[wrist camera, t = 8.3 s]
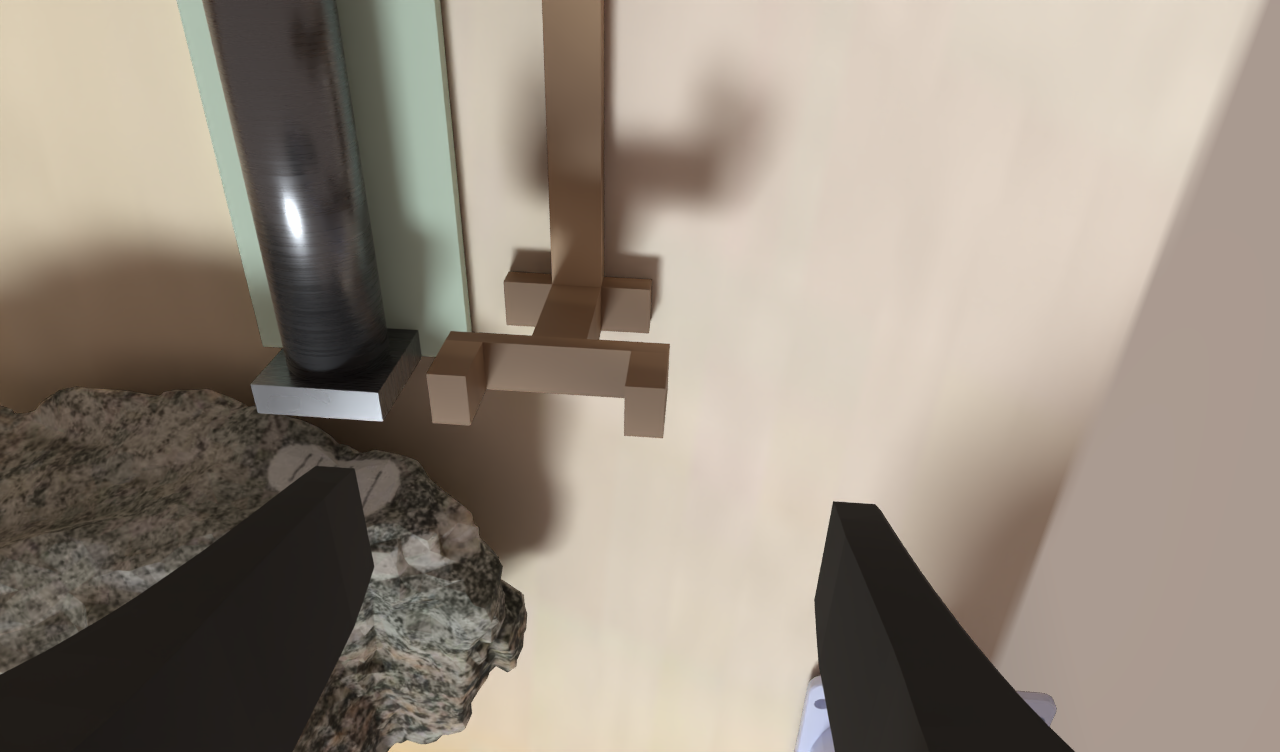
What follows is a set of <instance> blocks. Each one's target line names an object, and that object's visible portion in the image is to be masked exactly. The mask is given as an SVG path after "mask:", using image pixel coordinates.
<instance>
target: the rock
mask: <svg viewBox="0 0 1280 752" xmlns="http://www.w3.org/2000/svg"><path fill="white" fill-rule="evenodd" d="M315 466H327V467H341V468H355V472H356V477H357V482H358V487H359V492H360V497H361V502H362V507H363V512H364V517H365V522H366V527H367V532H368V537H369V542H370V547H371V552H372V557H373V562H374V570H373V573H372V576H371V579H370V582H369V586H368V589H367V592H366V595H365V598H364V601H363V604H362V606H361V609H360V612H359V615H358V618H357V620H356V623H355V626H354V629H353V631H352V633H351V635H350V637H349V639H348V641H347V643H346V645H345V647H344V649H343V651H342V654H341V656H340V658H339V660H338V662H337V664H336V666H335V668H334V670H333V672H332V674H331V676H330V678H329V680H328V682H327V684H326V686H325V688H324V690H323V692H322V694H321V696H320V698H319V700H318V702H317V704H316V706H315V708H314V710H313V712H312V714H311V716H310V718H309V720H308V722H307V724H306V726H305V728H304V730H303V732H302V734H301V736H300V738H299V740H298V742H297V744H296V746H295V748H294V750H293V752H388V750H389V749H390V748H391V747H392V746H393V745H394V744H395V743H402V742H404V741H406V740H409V741H413V742H416V743H419V744H429V743H432V742H435V741H437V740H438V739H439V738H440V737H441V736H442V735H449V734H453V733H457V732H461V731H462V730H464V729H465V728H466V726H467V723H468V721H469V719H470V716H471V714H472V709H471V702H472V701H473V699H474V697H475V696H476V694H477V692H478V691H479V689H480V688H481V686H482V685H483V684H484V682H485V681H486V679H487V678H488V675H489V672H490V671H491V670H492V669H493V668H494V667H495V666H497V667H499V668H501V669H502V670H504V671H506V672H509V671H510V670H512V669H513V668H515V667H516V664H517V659H518V656H519V654H520V652H521V650H522V648H523V638H524V632H525V630H526V623H527V612H526V609H525V603H524V595H523V594H522V593H521V592H520V591H518V590H517V589H515V588H514V587H512V586H511V585H509V584H508V583H506V582H505V581H503V580H502V579H501V574H502V567H503V566H502V565H501V563H500V561H499V557H498V556H497V555H496V554H495V553H494V551H493V550H492V549H491V548H490V547H489V546H488V545H487V544H486V543H485V542H484V541H483V540H482V539H481V538H480V537H479V527H477V526H476V525H475V524H474V523H473V517H472V513H471V512H470V511H469V510H467V509H466V508H465V507H464V506H463V505H462V504H461V503H459V502H458V501H457V500H455V499H454V498H453V497H451V496H450V495H449V494H447V493H446V492H445V491H443V490H442V489H441V488H440V487H439V486H437V485H436V484H435V483H434V482H433V481H432V480H430V479H429V477H428V475H427V474H426V472H425V470H424V469H423V467H422V465H421V464H420V463H419V462H418V461H417V460H414V459H412V458H409V457H406V456H403V455H399V454H394V453H389V452H384V451H379V450H372V451H368V452H365V453H361V452H358V451H356V450H355V449H353V448H351V447H350V446H348V445H343V444H338V443H337V442H336V441H335V440H334V439H333V438H332V437H331V436H330V435H329V434H327V433H326V432H324V431H323V430H321V429H320V428H318V427H316V426H314V425H312V424H310V423H307V422H305V421H303V420H300V419H296V418H292V417H287V416H284V415H279V414H264V413H258V412H257V408H256V406H252V407H248V406H246V405H245V404H243V403H241V402H239V401H237V400H235V399H233V398H231V397H228V396H225V395H223V394H220V393H218V392H215V391H212V390H210V389H198V390H172V391H167V392H164V393H162V394H161V395H159V396H157V395H149V394H143V393H137V392H131V391H123V390H111V389H99V388H92V389H89V388H83V387H72V388H68V389H63V390H59V391H58V392H56V393H55V394H53V395H52V396H50V397H49V398H47V399H46V400H44V401H43V402H41V403H40V405H39V406H38V407H37V409H36V410H35V411H32V412H28V413H20V414H15V413H14V411H13V410H12V409H9V408H6V407H3V406H0V674H2V673H4V672H6V671H8V670H10V669H12V668H14V667H16V666H18V665H20V664H22V663H23V662H25V661H27V660H29V659H31V658H33V657H35V656H37V655H39V654H41V653H43V652H45V651H46V650H48V649H50V648H52V647H54V646H55V645H57V644H59V643H61V642H62V641H64V640H66V639H68V638H69V637H71V636H73V635H74V634H76V633H78V632H80V631H81V630H83V629H85V628H86V627H88V626H90V625H91V624H93V623H95V622H97V621H98V620H100V619H102V618H103V617H105V616H106V615H108V614H110V613H111V612H113V611H115V610H116V609H118V608H119V607H121V606H123V605H124V604H126V603H127V602H129V601H130V600H132V599H133V598H135V597H137V596H138V595H139V594H141V593H142V592H144V591H145V590H147V589H148V588H150V587H151V586H153V585H154V584H155V583H157V582H158V581H160V580H161V579H163V578H164V577H166V576H167V575H169V574H170V573H171V572H173V571H174V570H176V569H177V568H179V567H180V566H182V565H183V564H184V563H186V562H187V561H189V560H190V559H192V558H193V557H195V556H196V555H198V554H199V553H200V552H202V551H203V550H204V549H206V548H207V547H209V546H210V545H211V544H213V543H214V542H215V541H217V540H218V539H219V538H221V537H222V536H223V535H225V534H226V533H227V532H229V531H230V530H231V529H233V528H234V527H235V526H237V525H238V524H239V523H241V522H242V521H243V520H245V519H246V518H247V517H249V516H250V515H251V514H252V513H254V512H255V511H256V510H258V509H259V508H260V507H262V506H263V505H264V504H265V503H267V502H268V501H269V500H271V499H272V498H273V497H275V496H276V495H277V494H278V493H280V492H281V491H282V490H284V489H285V488H286V487H288V486H289V485H290V484H292V483H293V482H294V481H296V480H297V479H298V478H300V477H301V476H302V475H304V474H305V473H306V472H308V471H309V470H311V469H312V468H313V467H315Z"/></svg>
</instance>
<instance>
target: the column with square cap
mask: <svg viewBox="0 0 1280 752" xmlns="http://www.w3.org/2000/svg"><path fill="white" fill-rule="evenodd" d="M202 3H203V7H204V11H205V16H206V20H207V24H208V29H209V33H210V37H211V41H212V46H213V50H214V54H215V59H216V63H217V67H218V71H219V76H220V80H221V84H222V89H223V93H224V97H225V101H226V106H227V110H228V114H229V119H230V123H231V127H232V131H233V136H234V140H235V144H236V149H237V153H238V157H239V162H240V166H241V170H242V174H243V179H244V183H245V187H246V192H247V196H248V200H249V204H250V209H251V213H252V217H253V222H254V226H255V230H256V234H257V239H258V243H259V247H260V252H261V256H262V260H263V264H264V269H265V273H266V277H267V282H268V286H269V290H270V294H271V299H272V303H273V307H274V312H275V316H276V320H277V325H278V329H279V333H280V337H281V342H282V346H283V349H282V350H281V351H280V352H279V353H278V354H277V355H276V356H275V358H274V359H273V360H272V361H271V362H270V363H269V364H268V365H267V366H266V368H265V369H264V370H263V371H262V372H261V373H260V374H259V375H258V376H257V378H256V379H255V380H254V381H253V382H252V383H251V384H250V385H251V389H252V393H253V396H254V400H255V404H256V408H257V412H258V413H264V414H279V415H293V416H308V417H323V418H338V419H353V420H367V421H382V422H383V421H384V419H385V417H386V416H387V414H388V412H389V411H390V409H391V407H392V406H393V404H394V402H395V401H396V399H397V397H398V396H399V394H400V392H401V391H402V389H403V387H404V386H405V384H406V382H407V381H408V379H409V377H410V376H411V374H412V372H413V371H414V369H415V367H416V366H417V364H418V362H419V361H420V359H421V357H422V354H421V347H420V339H419V332H418V330H409V329H392V328H387V326H386V320H385V314H384V307H383V301H382V294H381V288H380V281H379V275H378V268H377V262H376V255H375V249H374V242H373V236H372V229H371V223H370V216H369V210H368V203H367V197H366V191H365V184H364V178H363V171H362V165H361V158H360V152H359V145H358V139H357V132H356V126H355V119H354V113H353V106H352V100H351V93H350V87H349V81H348V74H347V68H346V61H345V55H344V48H343V42H342V35H341V29H340V22H339V16H338V9H337V3H336V0H202Z"/></svg>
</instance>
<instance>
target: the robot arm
mask: <svg viewBox="0 0 1280 752" xmlns="http://www.w3.org/2000/svg"><path fill="white" fill-rule="evenodd" d="M373 570H374V562H373V557H372V552H371V547H370V542H369V537H368V532H367V527H366V522H365V517H364V512H363V507H362V502H361V497H360V492H359V487H358V482H357V477H356V472H355V468H341V467H327V466H315V467H313V468H312V469H311V470H309V471H308V472H306V473H305V474H304V475H302V476H301V477H300V478H298V479H297V480H296V481H294V482H293V483H292V484H290V485H289V486H288V487H286V488H285V489H284V490H282V491H281V492H280V493H278V494H277V495H276V496H275V497H273V498H272V499H271V500H269V501H268V502H267V503H265V504H264V505H263V506H262V507H260V508H259V509H258V510H256V511H255V512H254V513H252V514H251V515H250V516H249V517H247V518H246V519H245V520H243V521H242V522H241V523H239V524H238V525H237V526H235V527H234V528H233V529H231V530H230V531H229V532H227V533H226V534H225V535H223V536H222V537H221V538H219V539H218V540H217V541H215V542H214V543H213V544H211V545H210V546H209V547H207V548H206V549H204V550H203V551H202V552H200V553H199V554H198V555H196V556H195V557H193V558H192V559H190V560H189V561H187V562H186V563H184V564H183V565H182V566H180V567H179V568H177V569H176V570H174V571H173V572H171V573H170V574H169V575H167V576H166V577H164V578H163V579H161V580H160V581H158V582H157V583H155V584H154V585H153V586H151V587H150V588H148V589H147V590H145V591H144V592H142V593H141V594H139V595H138V596H137V597H135V598H133V599H132V600H130V601H129V602H127V603H126V604H124V605H123V606H121V607H119V608H118V609H116V610H115V611H113V612H111V613H110V614H108V615H106V616H105V617H103V618H102V619H100V620H98V621H97V622H95V623H93V624H91V625H90V626H88V627H86V628H85V629H83V630H81V631H80V632H78V633H76V634H74V635H73V636H71V637H69V638H68V639H66V640H64V641H62V642H61V643H59V644H57V645H55V646H54V647H52V648H50V649H48V650H46V651H45V652H43V653H41V654H39V655H37V656H35V657H33V658H31V659H29V660H27V661H25V662H23V663H22V664H20V665H18V666H16V667H14V668H12V669H10V670H8V671H6V672H4V673H2V674H0V752H293V750H294V748H295V746H296V744H297V742H298V740H299V738H300V736H301V734H302V732H303V730H304V728H305V726H306V724H307V722H308V720H309V718H310V716H311V714H312V712H313V710H314V708H315V706H316V704H317V702H318V700H319V698H320V696H321V694H322V692H323V690H324V688H325V686H326V684H327V682H328V680H329V678H330V676H331V674H332V672H333V670H334V668H335V666H336V664H337V662H338V660H339V658H340V656H341V654H342V651H343V649H344V647H345V645H346V643H347V641H348V639H349V637H350V635H351V633H352V631H353V629H354V626H355V623H356V620H357V618H358V615H359V612H360V609H361V606H362V604H363V601H364V598H365V595H366V592H367V589H368V586H369V582H370V579H371V576H372V573H373ZM814 601H815V618H816V634H817V648H818V661H819V669H820V674H821V676H817V677H814V678H813V679H811V680H810V681H809V683H808V687H807V692H806V697H805V702H804V707H803V712H802V717H801V722H800V727H799V732H798V737H797V742H796V747H795V752H1074V750H1073V749H1071V748H1070V747H1069V746H1068V745H1067V744H1066V743H1065V742H1064V741H1063V740H1062V739H1061V738H1060V737H1059V736H1058V735H1057V734H1056V733H1055V732H1054V731H1053V730H1052V729H1051V728H1050V725H1051V722H1052V720H1053V718H1054V716H1055V714H1056V709H1057V708H1056V705H1055V703H1054V700H1053V699H1052V697H1051V696H1049V695H1047V694H1044V693H1037V692H1025V691H1015V690H1014V689H1013V687H1012V686H1011V685H1010V684H1009V683H1008V682H1007V681H1006V680H1005V679H1004V677H1003V676H1002V675H1001V674H1000V673H999V671H998V670H997V669H996V668H995V667H994V666H993V664H992V663H991V662H990V661H989V660H988V658H987V657H986V656H985V655H984V654H983V652H982V651H981V650H980V649H979V648H978V646H977V645H976V644H975V643H974V642H973V640H972V639H971V638H970V636H969V635H968V634H967V633H966V631H965V630H964V629H963V628H962V626H961V625H960V624H959V623H958V621H957V620H956V619H955V617H954V616H953V615H952V613H951V612H950V610H949V609H948V608H947V606H946V605H945V604H944V602H943V601H942V600H941V598H940V597H939V596H938V594H937V593H936V592H935V590H934V589H933V588H932V586H931V585H930V583H929V582H928V581H927V579H926V578H925V576H924V575H923V574H922V572H921V571H920V569H919V568H918V566H917V565H916V563H915V562H914V561H913V559H912V558H911V556H910V555H909V553H908V552H907V550H906V549H905V547H904V546H903V544H902V543H901V541H900V540H899V538H898V537H897V535H896V533H895V532H894V530H893V529H892V527H891V526H890V524H889V523H888V521H887V519H886V518H885V516H884V515H883V513H882V512H881V510H880V509H879V508H878V507H877V506H876V505H875V504H863V503H848V502H834V501H833V505H832V511H831V516H830V521H829V526H828V532H827V537H826V542H825V547H824V553H823V558H822V563H821V568H820V574H819V579H818V584H817V589H816V595H815V600H814Z"/></svg>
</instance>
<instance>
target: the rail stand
mask: <svg viewBox="0 0 1280 752" xmlns="http://www.w3.org/2000/svg"><path fill="white" fill-rule="evenodd" d="M542 14H543V42H544V70H545V98H546V126H547V154H548V181H549V209H550V237H551V265H552V274H544V273H526V272H508V274H507V276H506V278H505V280H504V293H505V308H506V322H507V325H516V326H533V327H535V330H534V332H533V335H532V336H526V335H509V334H492V333H475V332H459V331H450V333H449V335H448V336H447V338H446V340H445V342H444V343H443V345H442V347H441V349H440V350H439V352H438V354H437V356H436V357H435V359H434V361H433V363H432V364H431V366H430V368H429V370H428V371H427V373H426V377H427V385H428V392H429V400H430V407H431V415H432V422H433V423H439V424H455V425H470V426H471V423H472V421H473V419H474V416H475V414H476V412H477V410H478V407H479V405H480V403H481V401H482V398H483V396H484V394H485V391H486V389H490V390H506V391H522V392H538V393H554V394H570V395H585V396H601V397H617V398H625V411H624V436H638V437H653V438H663V433H664V422H665V411H666V401H667V389H668V369H669V348H670V344H661V343H644V342H627V341H610V340H599V337H600V333H601V331H618V332H636V333H649V328H650V319H651V289H652V279H635V278H617V277H604V0H542Z"/></svg>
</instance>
